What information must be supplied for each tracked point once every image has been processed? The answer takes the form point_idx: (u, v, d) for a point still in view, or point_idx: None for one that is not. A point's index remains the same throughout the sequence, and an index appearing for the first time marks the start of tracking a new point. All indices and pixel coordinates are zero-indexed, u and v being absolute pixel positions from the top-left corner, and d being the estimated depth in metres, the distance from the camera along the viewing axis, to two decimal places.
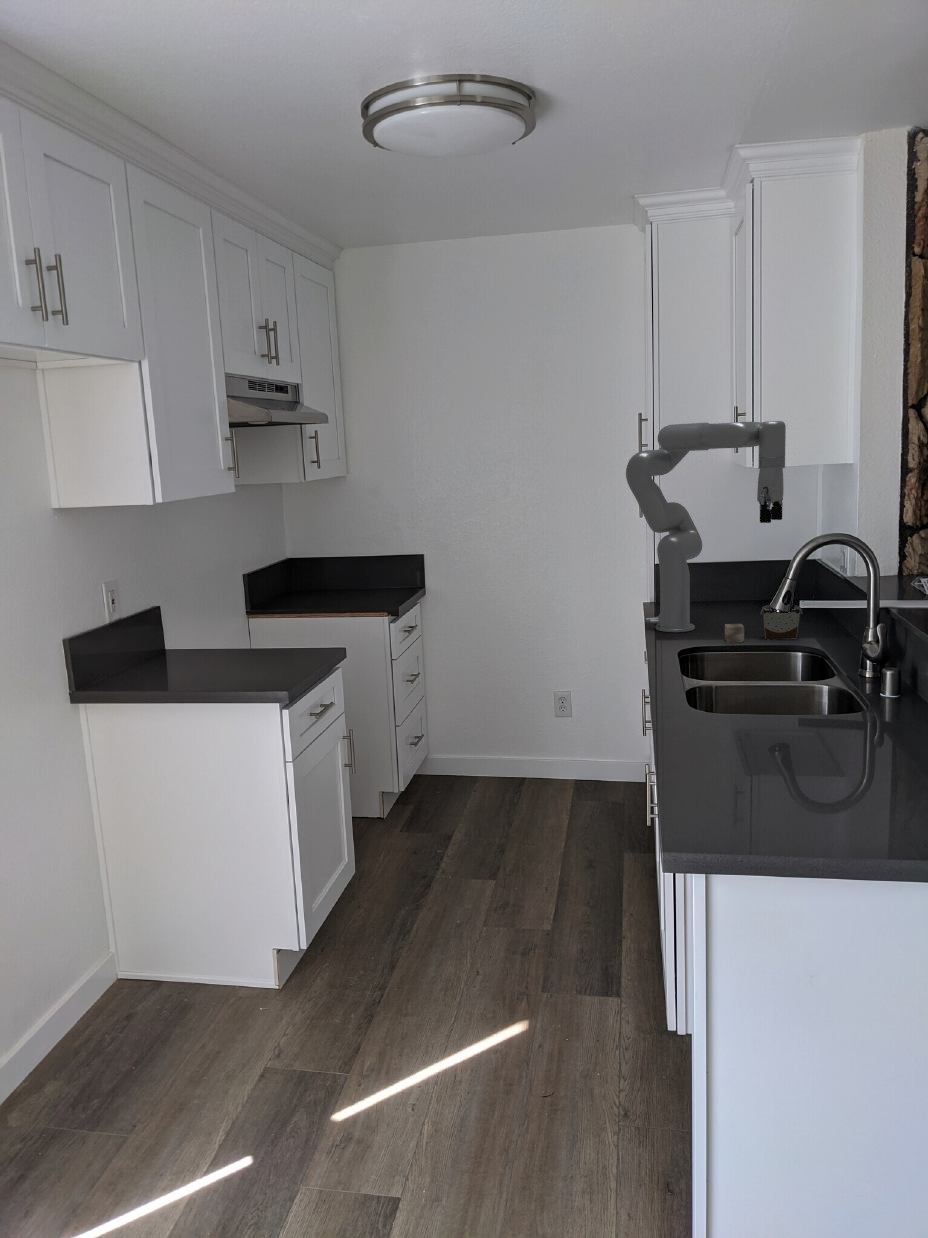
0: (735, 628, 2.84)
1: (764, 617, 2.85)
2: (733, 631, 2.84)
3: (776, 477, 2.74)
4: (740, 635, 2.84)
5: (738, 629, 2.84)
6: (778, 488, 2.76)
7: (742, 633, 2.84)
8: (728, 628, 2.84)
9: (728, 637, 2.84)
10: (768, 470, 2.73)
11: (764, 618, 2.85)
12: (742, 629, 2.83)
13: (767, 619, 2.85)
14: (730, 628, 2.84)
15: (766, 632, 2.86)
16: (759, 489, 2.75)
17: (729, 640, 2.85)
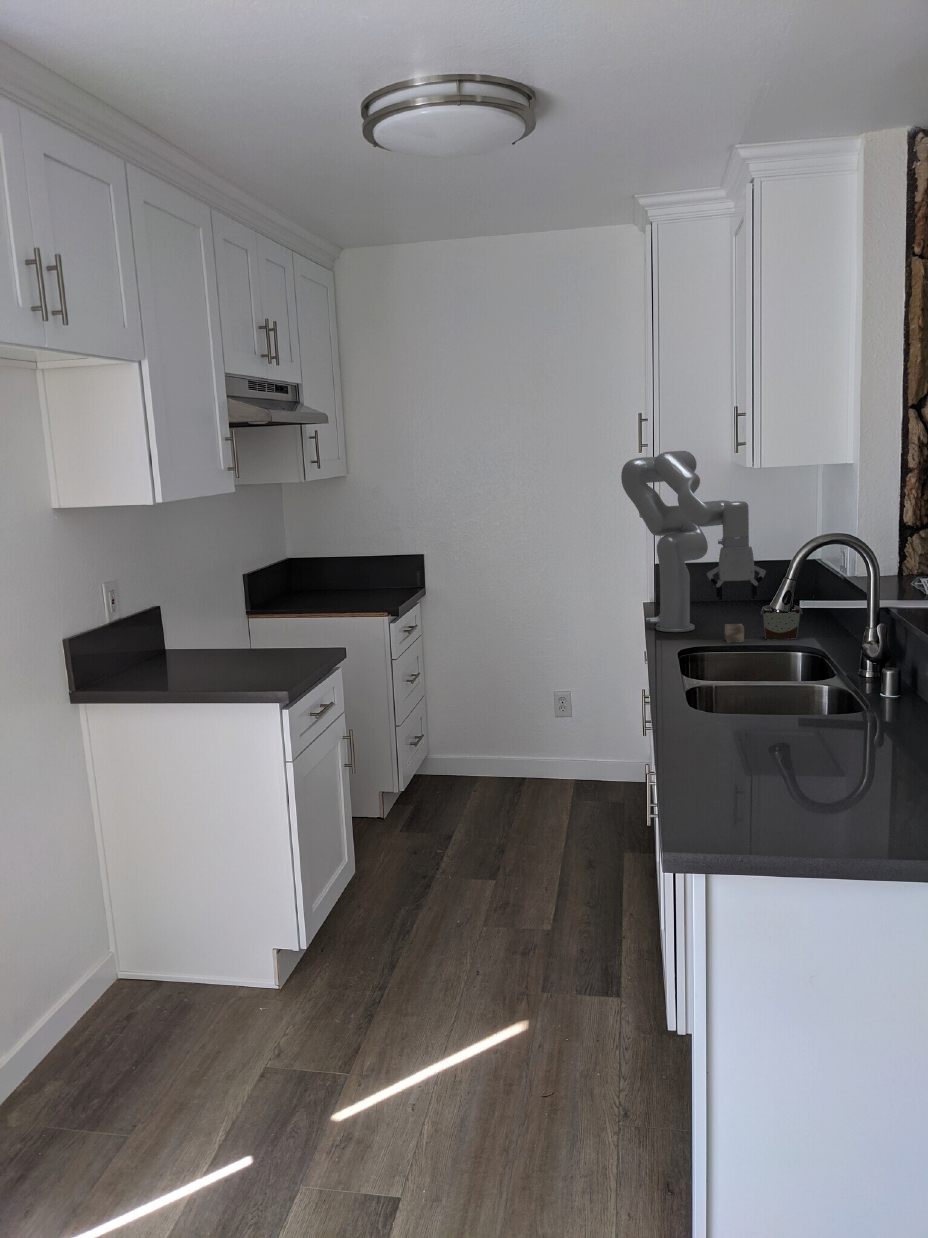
0: (735, 628, 2.84)
1: (764, 617, 2.85)
2: (733, 631, 2.84)
3: None
4: (740, 635, 2.84)
5: (738, 629, 2.84)
6: None
7: (742, 633, 2.84)
8: (728, 628, 2.84)
9: (728, 637, 2.84)
10: None
11: (764, 618, 2.85)
12: (742, 629, 2.83)
13: (767, 619, 2.85)
14: (730, 628, 2.84)
15: (766, 632, 2.86)
16: (754, 566, 2.80)
17: (729, 640, 2.85)
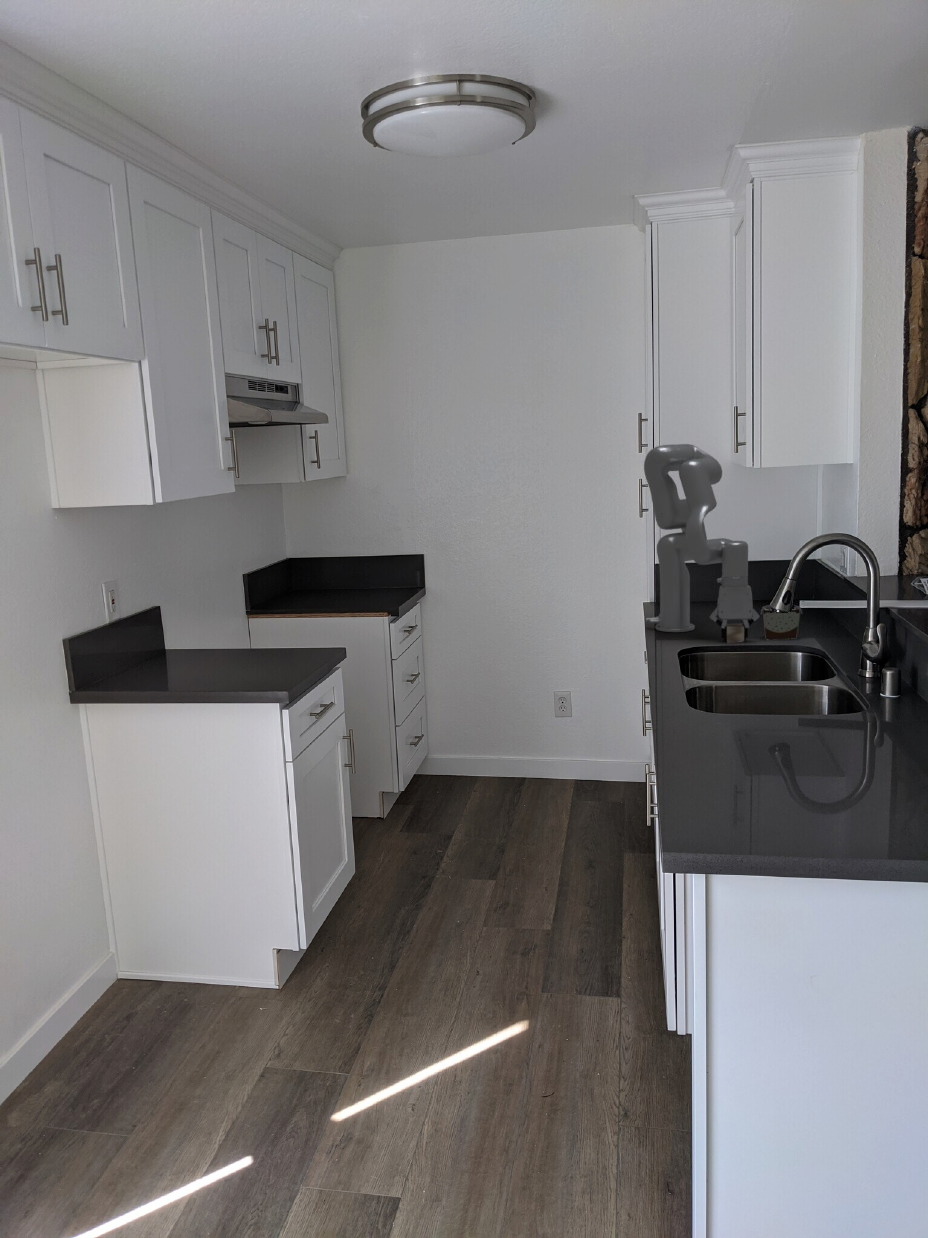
0: (735, 628, 2.84)
1: (764, 617, 2.85)
2: (733, 630, 2.84)
3: None
4: (740, 634, 2.84)
5: (738, 629, 2.84)
6: None
7: (742, 632, 2.84)
8: (728, 628, 2.84)
9: (728, 637, 2.84)
10: None
11: (764, 618, 2.85)
12: (742, 629, 2.83)
13: (767, 619, 2.85)
14: (730, 628, 2.84)
15: (766, 632, 2.86)
16: (752, 606, 2.82)
17: (729, 640, 2.85)
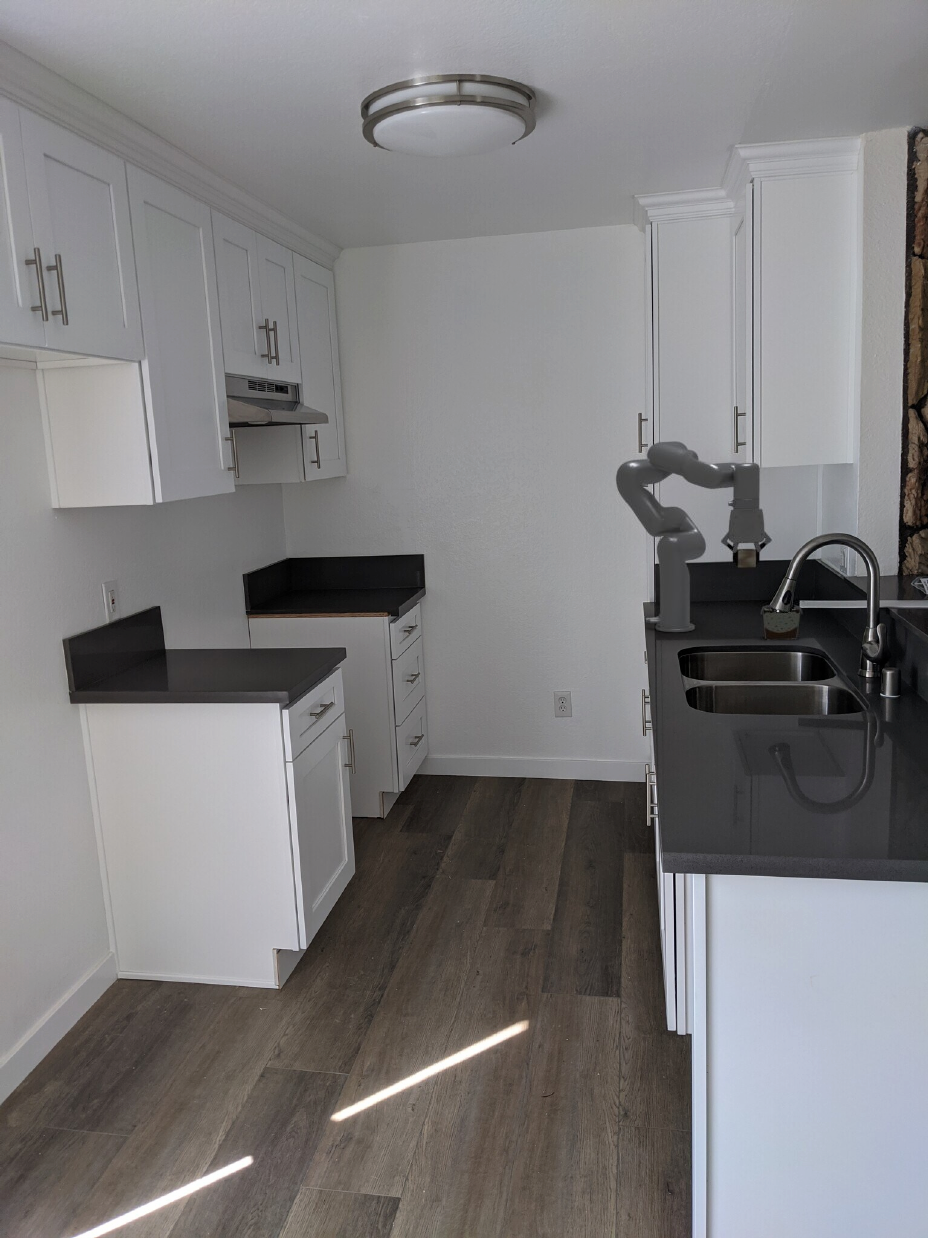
0: (746, 551, 2.80)
1: (764, 617, 2.85)
2: (744, 554, 2.80)
3: None
4: (751, 558, 2.80)
5: (750, 552, 2.80)
6: None
7: (753, 556, 2.80)
8: (739, 552, 2.80)
9: (739, 561, 2.80)
10: None
11: (764, 618, 2.85)
12: (754, 552, 2.79)
13: (767, 619, 2.85)
14: (741, 552, 2.80)
15: (766, 632, 2.86)
16: None
17: (740, 564, 2.81)
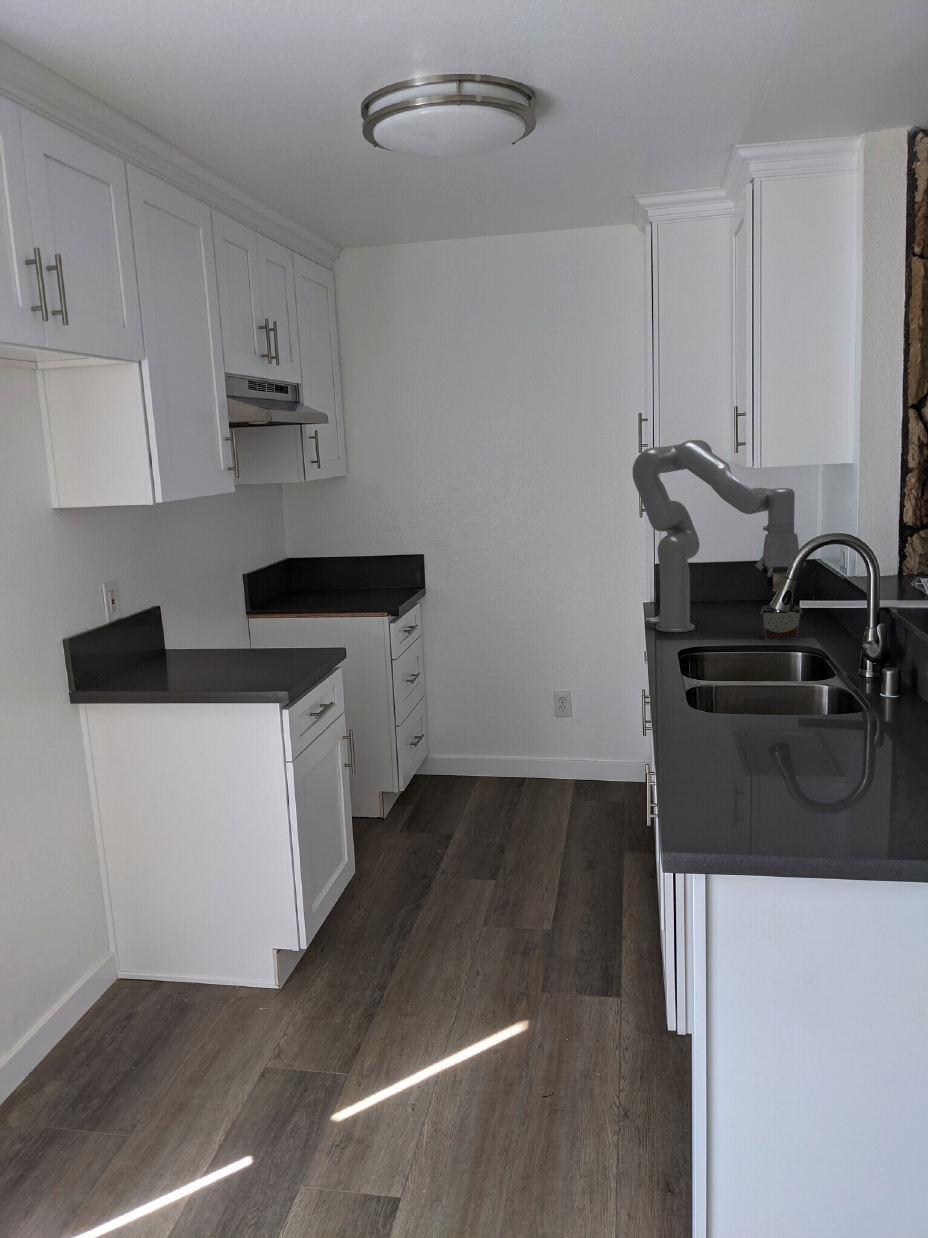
0: (782, 576, 2.83)
1: (764, 617, 2.85)
2: (780, 578, 2.83)
3: None
4: None
5: None
6: None
7: None
8: (774, 576, 2.83)
9: (774, 585, 2.83)
10: None
11: (764, 618, 2.85)
12: None
13: (767, 619, 2.85)
14: (776, 576, 2.83)
15: (766, 632, 2.86)
16: None
17: (775, 588, 2.84)
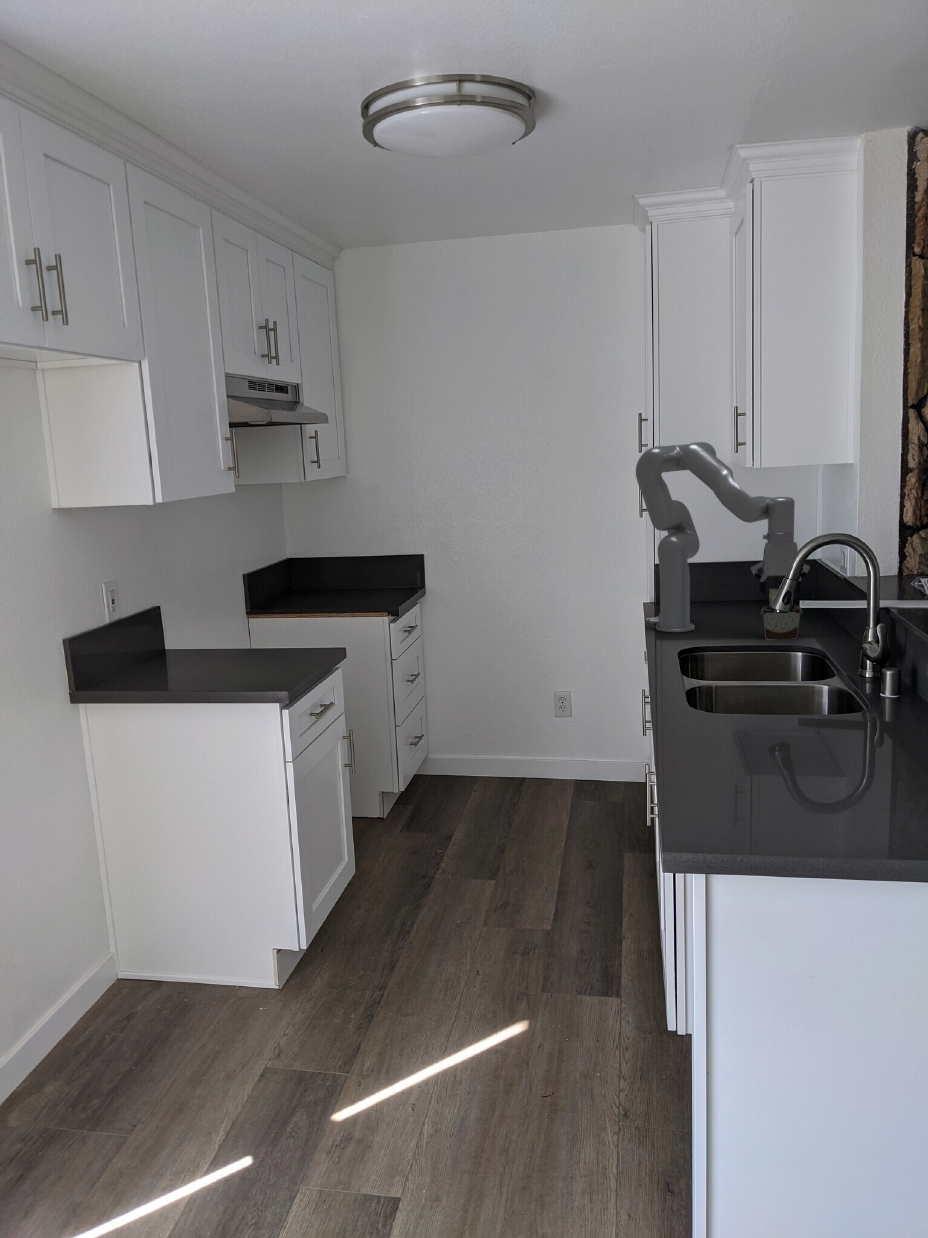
0: None
1: (764, 617, 2.85)
2: None
3: None
4: None
5: None
6: None
7: None
8: (774, 592, 2.84)
9: None
10: None
11: (764, 618, 2.85)
12: None
13: (767, 620, 2.85)
14: (776, 592, 2.84)
15: (766, 632, 2.86)
16: None
17: None
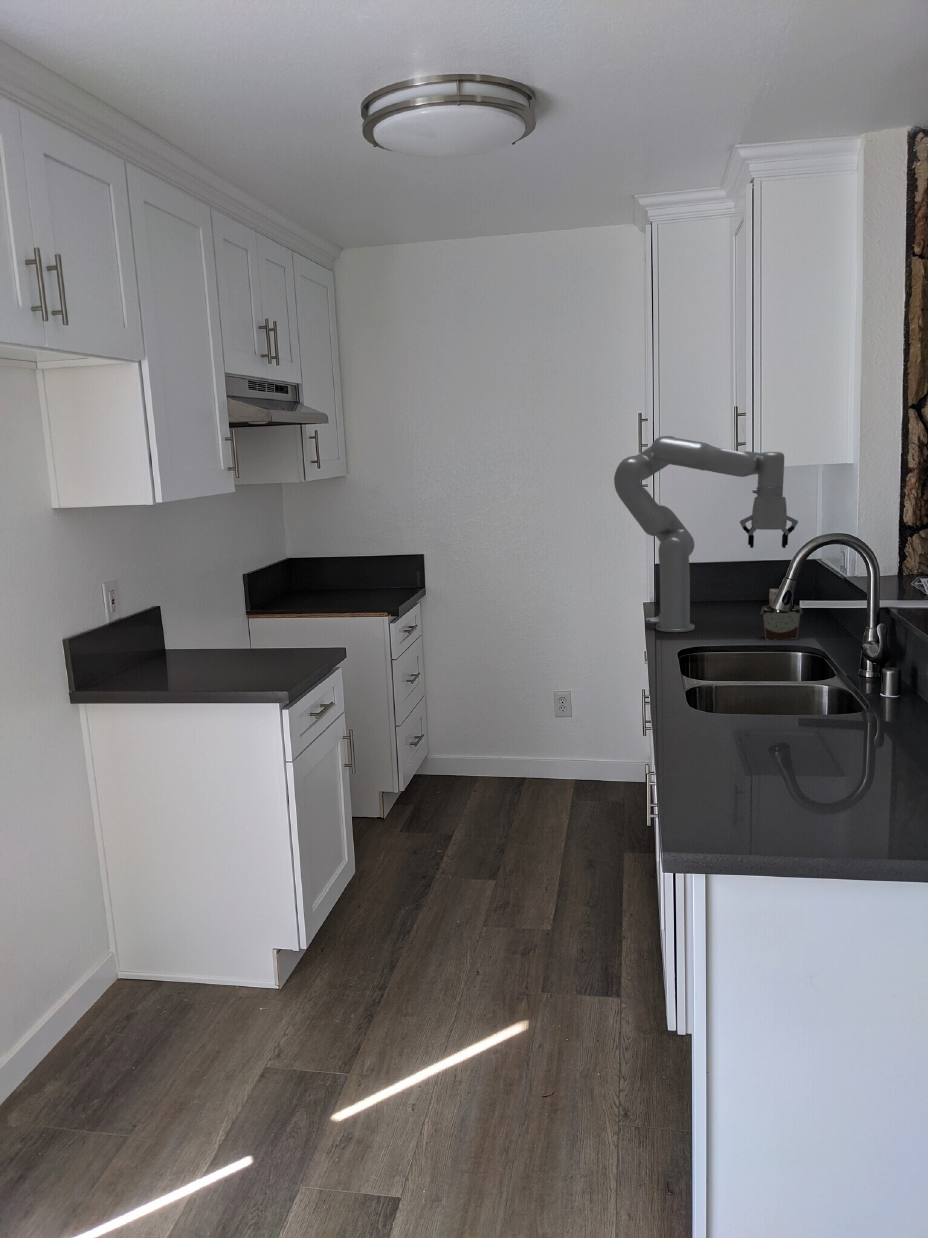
0: None
1: (764, 617, 2.85)
2: None
3: None
4: None
5: None
6: None
7: None
8: (774, 592, 2.84)
9: None
10: None
11: (764, 618, 2.85)
12: None
13: (767, 619, 2.85)
14: (776, 592, 2.84)
15: (766, 632, 2.86)
16: (786, 516, 2.87)
17: None
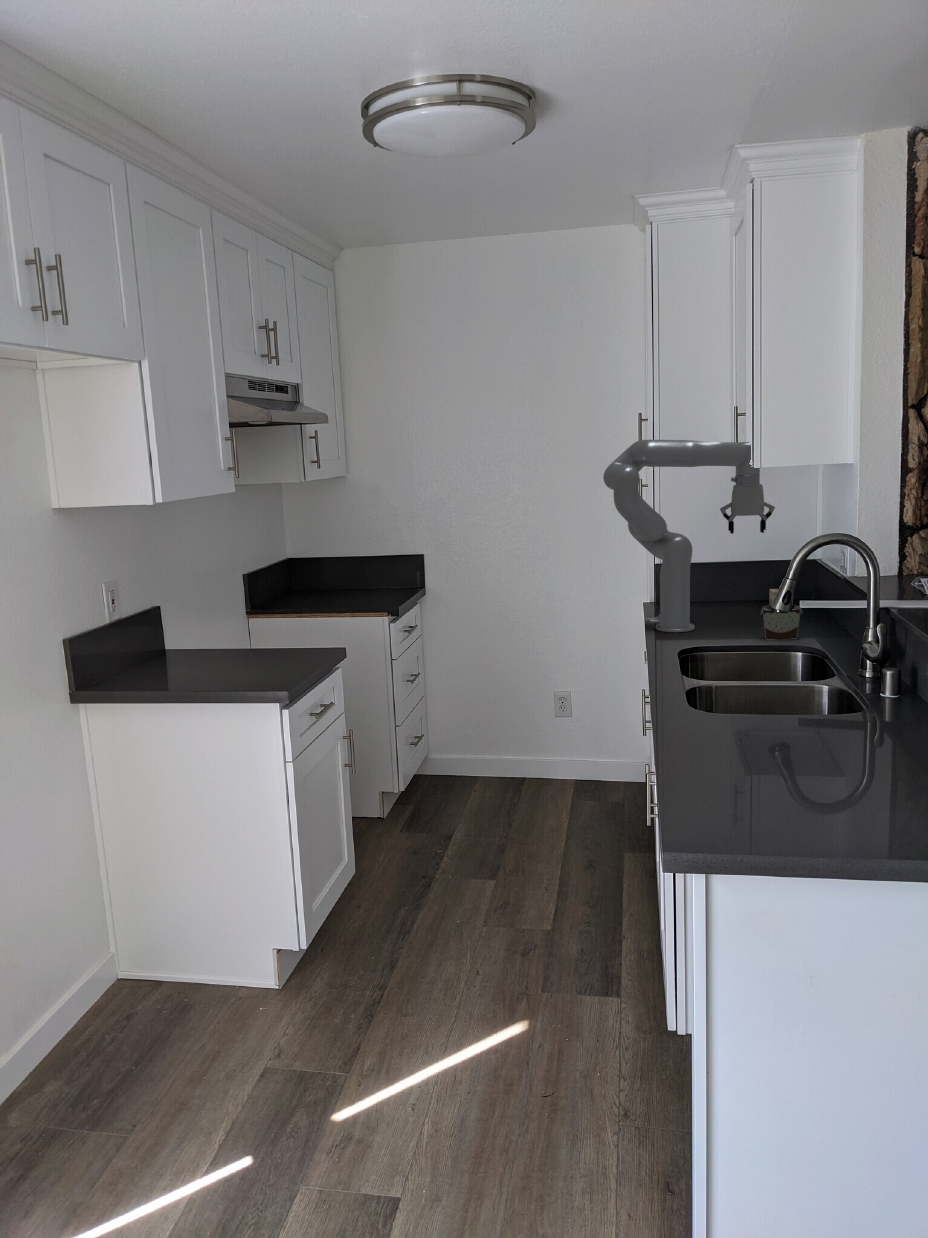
0: None
1: (764, 617, 2.85)
2: None
3: None
4: None
5: None
6: None
7: None
8: (774, 592, 2.84)
9: None
10: None
11: (764, 618, 2.85)
12: None
13: (767, 620, 2.85)
14: (776, 592, 2.84)
15: (766, 632, 2.86)
16: (764, 502, 3.03)
17: None
